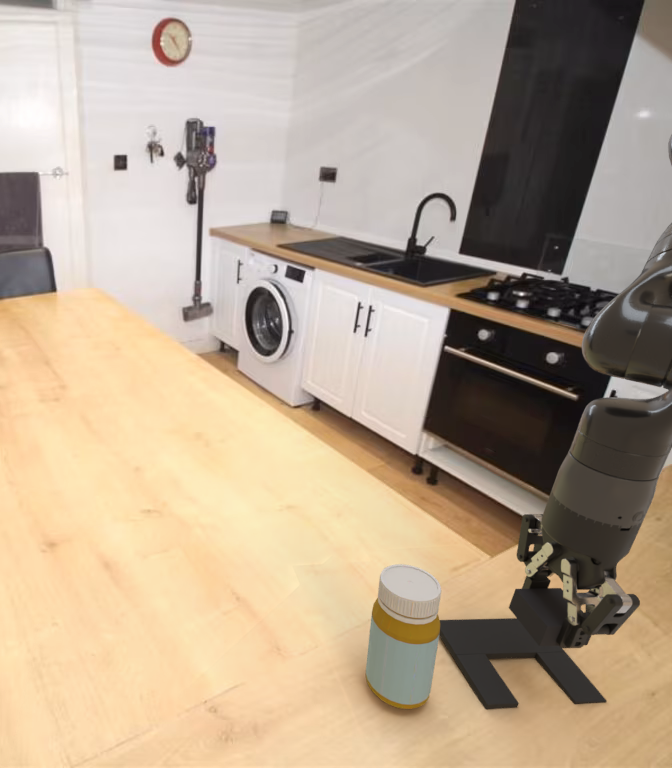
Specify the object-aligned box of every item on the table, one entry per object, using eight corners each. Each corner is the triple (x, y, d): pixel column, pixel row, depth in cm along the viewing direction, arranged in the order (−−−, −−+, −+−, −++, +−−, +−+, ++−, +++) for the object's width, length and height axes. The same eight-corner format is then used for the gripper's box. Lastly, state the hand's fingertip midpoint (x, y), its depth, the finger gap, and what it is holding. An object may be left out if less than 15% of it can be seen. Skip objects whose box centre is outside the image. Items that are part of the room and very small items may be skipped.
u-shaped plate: (534, 623, 73) (536, 617, 73) (604, 707, 62) (607, 701, 62) (432, 625, 73) (434, 619, 72) (485, 710, 62) (487, 704, 61)
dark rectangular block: (552, 606, 64) (560, 587, 63) (587, 645, 59) (596, 625, 58) (508, 607, 64) (515, 588, 63) (539, 646, 59) (547, 626, 58)
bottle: (380, 653, 69) (392, 553, 64) (438, 685, 64) (455, 580, 59) (354, 687, 64) (364, 583, 59) (414, 724, 59) (431, 614, 54)
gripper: (515, 462, 61) (479, 577, 68) (618, 548, 48) (560, 681, 55) (580, 461, 61) (537, 577, 68) (700, 547, 48) (632, 679, 55)
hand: (548, 623), depth 61 cm, fingers closed on dark rectangular block, 5 cm apart
